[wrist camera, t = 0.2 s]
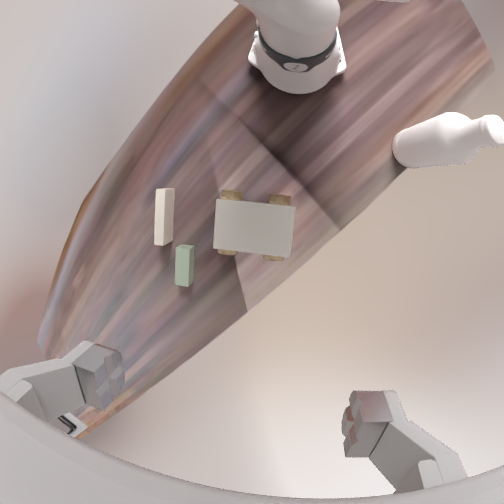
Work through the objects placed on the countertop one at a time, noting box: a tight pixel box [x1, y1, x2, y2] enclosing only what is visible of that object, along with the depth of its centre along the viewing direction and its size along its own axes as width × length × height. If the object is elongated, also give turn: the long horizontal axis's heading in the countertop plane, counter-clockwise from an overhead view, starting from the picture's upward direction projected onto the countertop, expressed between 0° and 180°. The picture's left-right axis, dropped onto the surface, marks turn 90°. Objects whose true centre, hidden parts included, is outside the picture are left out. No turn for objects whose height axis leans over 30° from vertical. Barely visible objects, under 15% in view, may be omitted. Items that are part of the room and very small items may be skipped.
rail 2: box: [263, 194, 291, 261], centre depth 55 cm, size 12×4×4 cm, turn 175°
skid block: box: [175, 244, 195, 287], centre depth 60 cm, size 8×3×4 cm, turn 174°
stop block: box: [154, 188, 175, 246], centre depth 57 cm, size 11×2×5 cm, turn 175°
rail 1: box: [218, 190, 243, 255], centre depth 56 cm, size 12×4×4 cm, turn 175°
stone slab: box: [213, 199, 296, 258], centre depth 53 cm, size 9×14×2 cm, turn 85°
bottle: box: [392, 112, 504, 168], centre depth 36 cm, size 8×8×30 cm
